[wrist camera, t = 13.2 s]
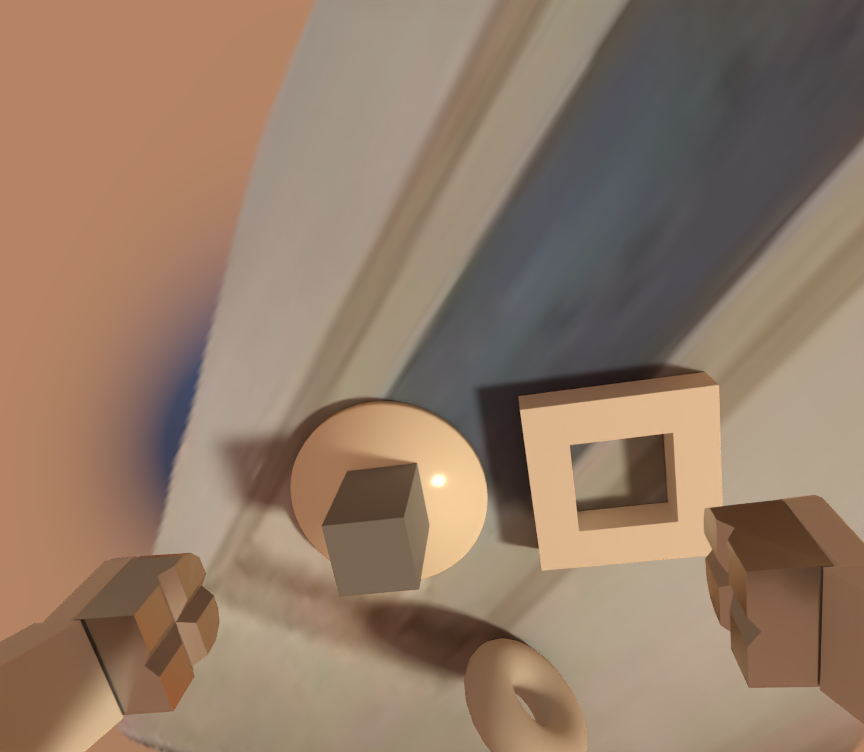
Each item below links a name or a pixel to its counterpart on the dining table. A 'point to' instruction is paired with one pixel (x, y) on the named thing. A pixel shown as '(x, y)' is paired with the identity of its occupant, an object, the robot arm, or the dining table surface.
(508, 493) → the dining table surface
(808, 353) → the dining table surface
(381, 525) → the block
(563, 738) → the donut
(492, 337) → the dining table surface
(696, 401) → the pocket collar
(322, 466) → the peach ellipsoid
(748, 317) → the dining table surface
